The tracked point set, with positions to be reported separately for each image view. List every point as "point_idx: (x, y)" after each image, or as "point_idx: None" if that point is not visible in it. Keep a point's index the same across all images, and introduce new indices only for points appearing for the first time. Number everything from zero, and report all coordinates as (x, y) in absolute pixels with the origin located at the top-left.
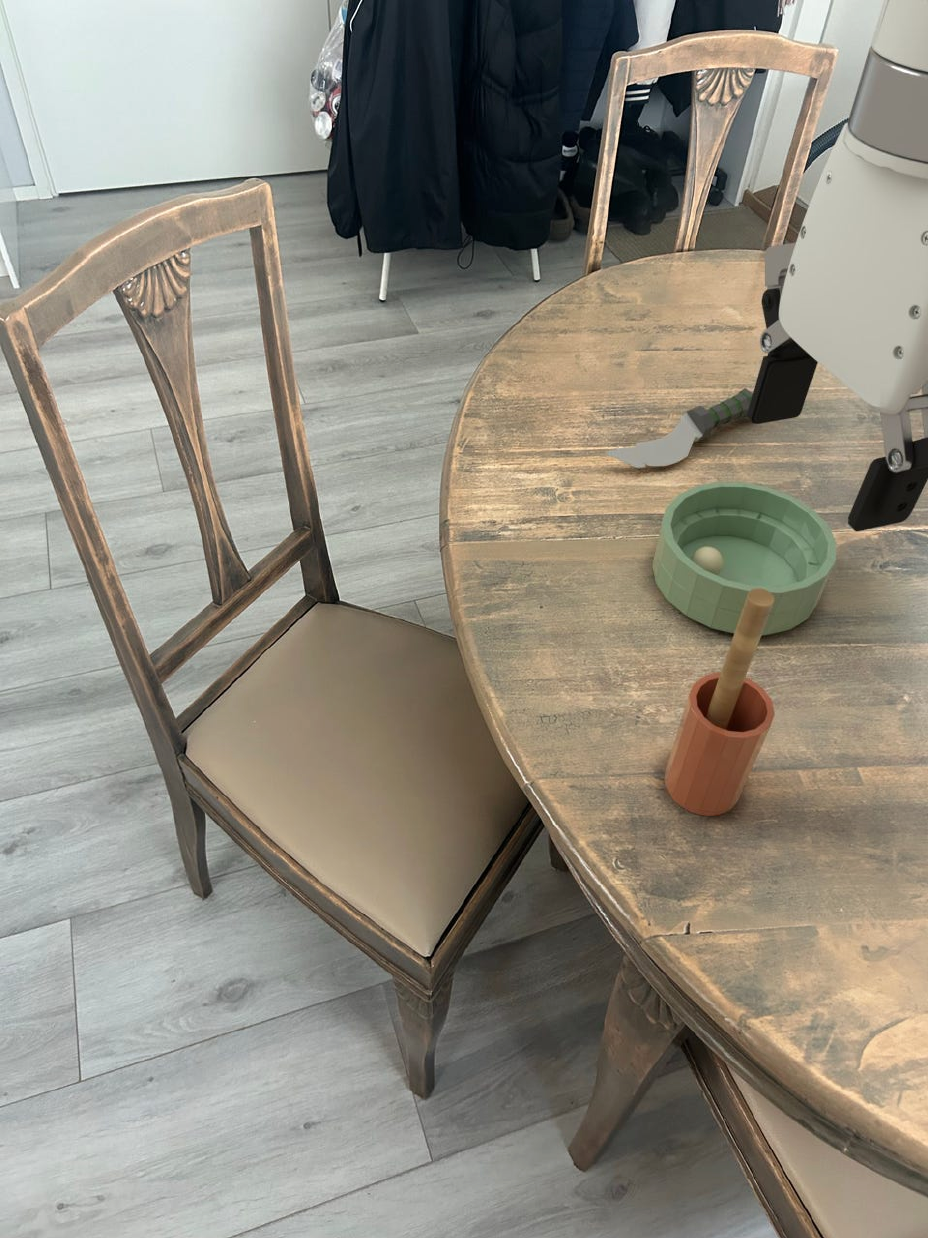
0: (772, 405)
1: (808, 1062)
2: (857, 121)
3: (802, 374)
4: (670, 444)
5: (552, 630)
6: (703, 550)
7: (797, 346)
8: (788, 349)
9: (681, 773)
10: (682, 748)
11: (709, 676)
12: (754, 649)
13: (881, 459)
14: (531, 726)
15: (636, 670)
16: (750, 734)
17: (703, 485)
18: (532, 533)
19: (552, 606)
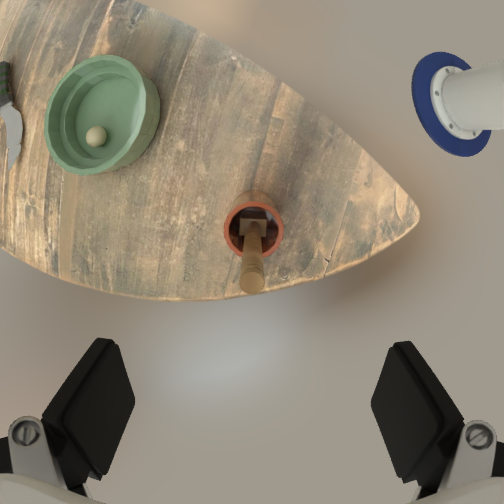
0: (121, 407)
1: (392, 239)
2: None
3: (89, 415)
4: (11, 123)
5: (124, 249)
6: (89, 140)
7: (72, 470)
8: (82, 478)
9: None
10: None
11: (226, 234)
12: (262, 258)
13: (410, 478)
14: (189, 287)
15: (163, 212)
16: (281, 232)
17: (44, 128)
18: (54, 231)
19: (106, 241)
